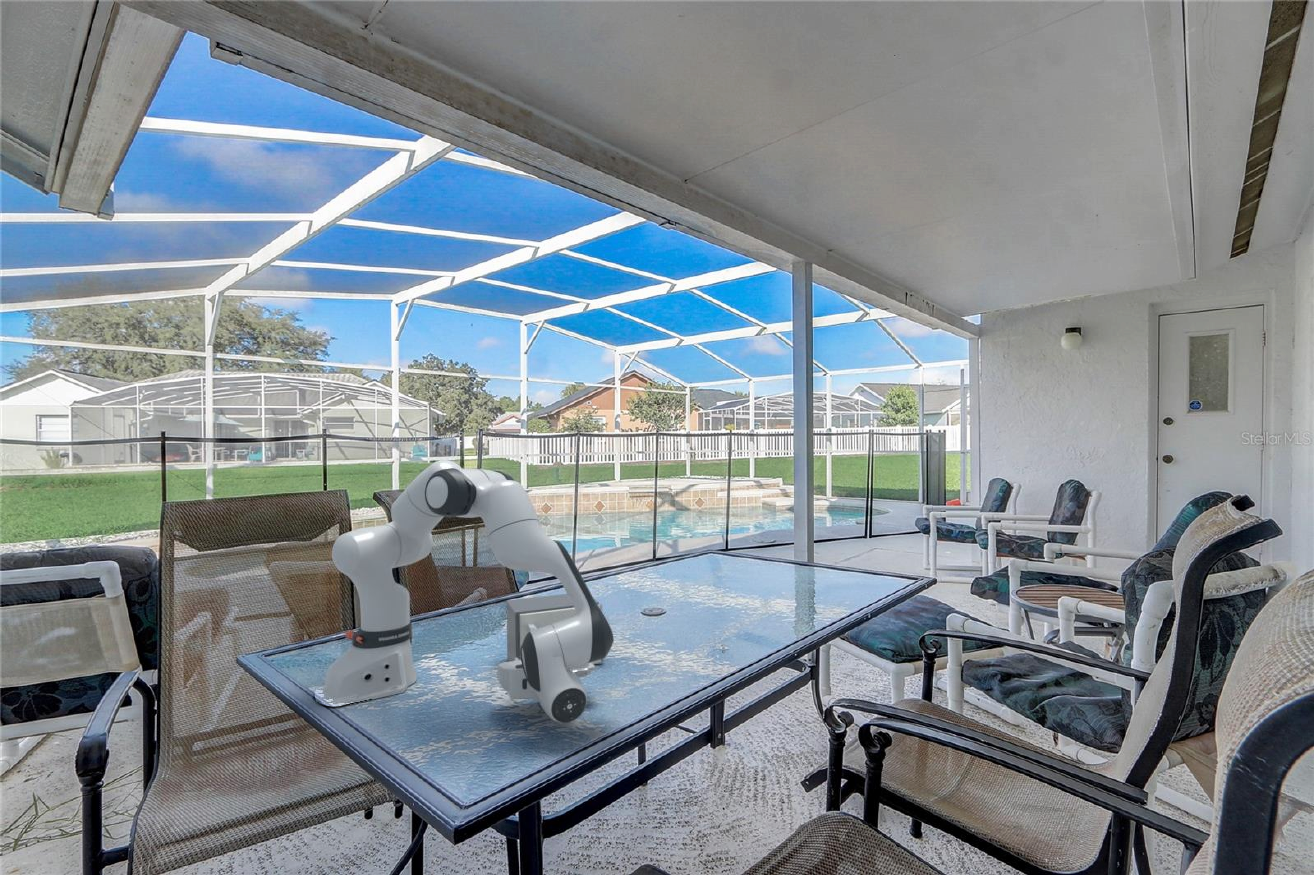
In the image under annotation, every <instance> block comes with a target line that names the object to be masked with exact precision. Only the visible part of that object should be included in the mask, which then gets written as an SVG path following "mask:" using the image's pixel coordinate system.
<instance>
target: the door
mask: <svg viewBox="0 0 1314 875" xmlns="http://www.w3.org/2000/svg"><path fill="white" fill-rule="evenodd" d="M598 607H599V608H600V610H601V612H602V613H603V604H599V605H598ZM576 613H577V612H576V610H575V608H567V609H559V610H551V611H543V612H534V613H526V614H519V618H520V649H521V646H522V643H523V641H524V638H525V636H526V635H527V634H528V632H530V631H533V630H535V629H538V628H541V627H543V626H546V625H549V624H553V623H556V622H559V621H561V620H564V619H567V618H570V617H572V616H574V615H575V614H576ZM520 657H521V656H520ZM590 663H592V664H593V665H597V664H603V663H604V659H601V660H597V661H594V662H590Z"/></svg>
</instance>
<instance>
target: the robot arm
mask: <svg viewBox="0 0 1314 875" xmlns="http://www.w3.org/2000/svg"><path fill="white" fill-rule="evenodd" d="M390 515H391V517H390V518H391V520H392V521H391V522H388V523H387V524H382V525H374V526H366V527H360V528H357V529H354V530H351V531H348V532H345V533H342V534H341V535H339V536H338V537H337V538H336V539H335V541H334V543H333V545H332V550H331V559H332V562H333V564H334V566H335V568H337V570H338V571H339V572H340V573H341V574H343V575H346V576H347V577H348V578H349V579H350V580H351V582H352V583H353V585H354V586H355V588H356V591H357V594H358V598H359V608H360V627H359V629H358V630H356V632H355V631H354V630H351V629H349V630H347V631H346V633H345V634H344V636H345V638H346V639H348V641H349V640H350V641H351V642H352V646H350V647H349V648H348V649H347V650H345V652H344V653H343V654H342V655H340V656H339V657H338V658H337V659H336V660H335V661H334V662H332V663H331V664H330V665H329V667H327V670H326V674H325V680H324V684H323V685H322V686H323V687H322V686H321V687H322V688H319V687H318V688H319V689H317V688H316V689H317V690H323V692H322V693H318V694H324V697H322V698H320V699H326V700H329V699H333V701H331V702H326V703H333V704H338V703H351V702H358V701H362V700H367V701H369V700H368V699H372V700H376V699H381V698H384V697H385V698H386V697H389V696H392V695H397V694H398V695H399V694H401V693H404V692H406V691H407V689H408V687H410V686H411V685H413V684H414V683H415V682H416V681H417V680H418V675H417V673H416V672H417V671H416V669H415V665H414V660H413V653H412V642H413V627H412V623H413V622H411V620H410V619H411V616H410V615H411V613H410V612H411V611H410V610H411V608H410V607H411V606H410V605H411V604H410V602H411V601H410V598H411V596H410V595H411V594H410V591H408V588H406V587H405V586H403V585H402V584H400V583H397V582H396V581H395V578H394V575H393V569H395V568H399V567H405V566H408V565H409V566H410V565H412V564H415V563H416V562H419V561H421V560H423V559H425V558H427V557H428V556H429V554H430V553H431V552H432V550H433V544H434V540H433V534H432V531H433V530H434V529H435V527H436V526H437V525H438V524H439V523H440V522H441V521H442V519H444V517H446V518H455V517H457V518H465V519H467V518H469V519H470V518H471V519H472V518H473V519H474V518H479V517H480V518H481V519H482V521H483V524H484V526H485V530H486V534H487V538H488V542H489V544H490V545H489V546H490V549H491V550H492V553H493V556H494V558H495V559H496V561H497V562H498V563H499V564H500V565H502V566H504V567H506V568H507V569H510V570H513V571H517V572H527V573H530V572H531V573H542V574H547V575H548V574H549V575H550V576H554V577H555V578H557V579H558V581H560V583H561V585H562V587H563V588H564V590H565V592H566V593H565V594H568V596H569V598H570V600H571V602H572V604H573V606H574V608H575V610H576V612H577V613H576V614H575V615H574V616H572V617H570V618H567V619H564V620H561V621H559V622H556V623H553V624H549V625H546V626H543V627H541V628H538V629H535V630H533V631H530V632H528V634H527V635H526V636H525V638H524V641H523V643H522V646H521V649H520V656H521V657H517V658H515V661H510V662H508V661H504V662H501V663H498V665H497V680H498V683H499V685H500V686H501V688H502V689H503V690H504V691H505V692H507V693H509V698H510V699H511V700H532V701H538V702H539V705H540V706H541V708H542V709H543V711H544V712H545V713H546V715H547V716H548V717H549V718H550V719H551V720H553V721H555V722H556V723H560V724H567V723H571V722H573V721H575V720H577V719H579V717H581V715H583V712H584V711H585V710H586V708H587V704H588V696H587V692H586V689H585V687H584V685H583V683H582V681H581V679H580V678H584V677H585V678H586V677H587V676H589V674H591V672H594V671H595V670H596V665H595V664H592V663H590V662H594V661H597V660H601V659H603V660H604V659H606V656H608V654H609V653H610V651H611V648H612V647H613V645H614V640H615V639H614V638H615V637H614V634H613V629H612V626H611V624H610V622H609V621H608V619H607V618H606V616H605V614H604V613H603V611H602V612H601V610H600V608H599V607H598V605H597V604H596V602H595V600H596V599H595V598H594V597H593V595H592V592H591V590H590V589H589V587H588V586H587V584H586V582H585V580H584V578H583V576H582V574H581V571H579V569H578V567H577V566H576V563H575V562H574V559H573V558H572V556H571V554H570V553H569V551H568V550H567V549H566V547H565V546H564V545H563V544H562V543H561V541H559V540H558V541H557V540H553V539H552V538H551V537H550V536H548V535H547V533H546V532H545V531H544V530H543V528H542V527H541V524H540V522H539V518H538V515H537V512H536V510H535V507H534V505H533V503H532V500H531V499H530V497H529V494H528V492H527V491H526V489H525V487H524V486H523V485H522V484H521V483H520V482H519V481H516V480H515V479H514V477H513V476H511V475H509V474H508V473H505V472H502V471H499V470H489V469H484V468H463V467H461V466H460V465H459V464H458V463H456V462H454V461H452V460H449V459H440V460H437V461H435V462H433V463H432V464H430V465H429V466H428V467H426V468H425V469H424V470H422V471H421V472H420V473H419V474H418V475H417V476H416V477H415V478H414V479H413V480H412V481H411V482H410V483H409V484H408V485H407V486H406V488H405V489H404V490H403V491H402V492H401V494H400V495H399V496H398V497H397V499H395V500H394V502H393V503H392V505H391V508H390ZM594 599H595V600H594Z"/></svg>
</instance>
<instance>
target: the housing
mask: <svg viewBox="0 0 1314 875" xmlns="http://www.w3.org/2000/svg"><path fill="white" fill-rule="evenodd" d="M594 600H595V602H596V604H597V605H600V603H599V601H597V600H596V599H595V598H594ZM567 608H574V606H573V604H572V602H571V600H570V598H569V596H568V594H567V593H563V594H553V595H551V594H550V595H544V596H535V597H527V598H516V599H508V600H506V645H507V646H506V654H507V656H506V657H507V658H506V659H507V662H510V661H515V658H517V657H520V618H519V614H526V613H534V612H543V611H551V610H559V609H567Z"/></svg>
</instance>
